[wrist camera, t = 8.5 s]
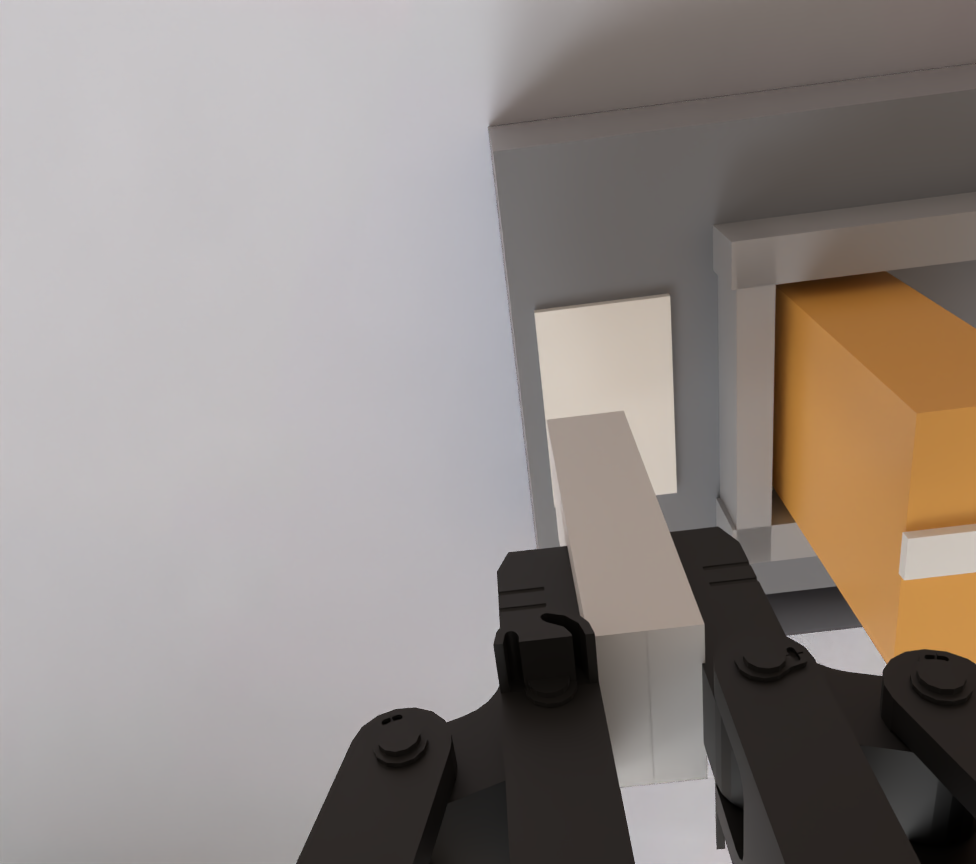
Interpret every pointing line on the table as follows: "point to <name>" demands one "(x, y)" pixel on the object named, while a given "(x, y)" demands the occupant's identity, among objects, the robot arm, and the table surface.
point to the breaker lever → (881, 453)
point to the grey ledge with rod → (812, 611)
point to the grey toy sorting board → (719, 271)
